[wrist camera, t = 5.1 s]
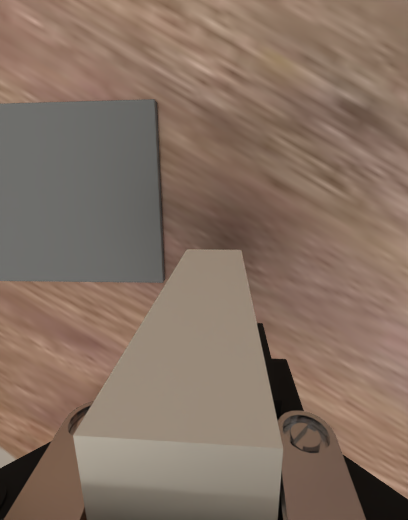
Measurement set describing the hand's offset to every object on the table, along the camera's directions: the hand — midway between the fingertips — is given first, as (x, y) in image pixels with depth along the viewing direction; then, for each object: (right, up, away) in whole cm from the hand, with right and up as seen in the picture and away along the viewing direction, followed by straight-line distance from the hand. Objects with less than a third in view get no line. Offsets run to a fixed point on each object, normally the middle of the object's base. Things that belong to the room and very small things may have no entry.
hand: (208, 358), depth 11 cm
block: (0, +1, +3) cm, 3 cm away
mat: (-12, +9, +13) cm, 19 cm away
